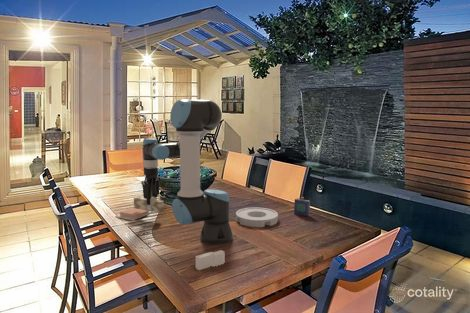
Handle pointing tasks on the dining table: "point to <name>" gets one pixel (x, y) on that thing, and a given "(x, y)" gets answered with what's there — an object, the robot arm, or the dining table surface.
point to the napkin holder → (210, 259)
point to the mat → (128, 217)
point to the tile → (134, 213)
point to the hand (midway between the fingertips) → (151, 209)
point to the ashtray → (256, 217)
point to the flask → (302, 207)
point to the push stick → (142, 204)
